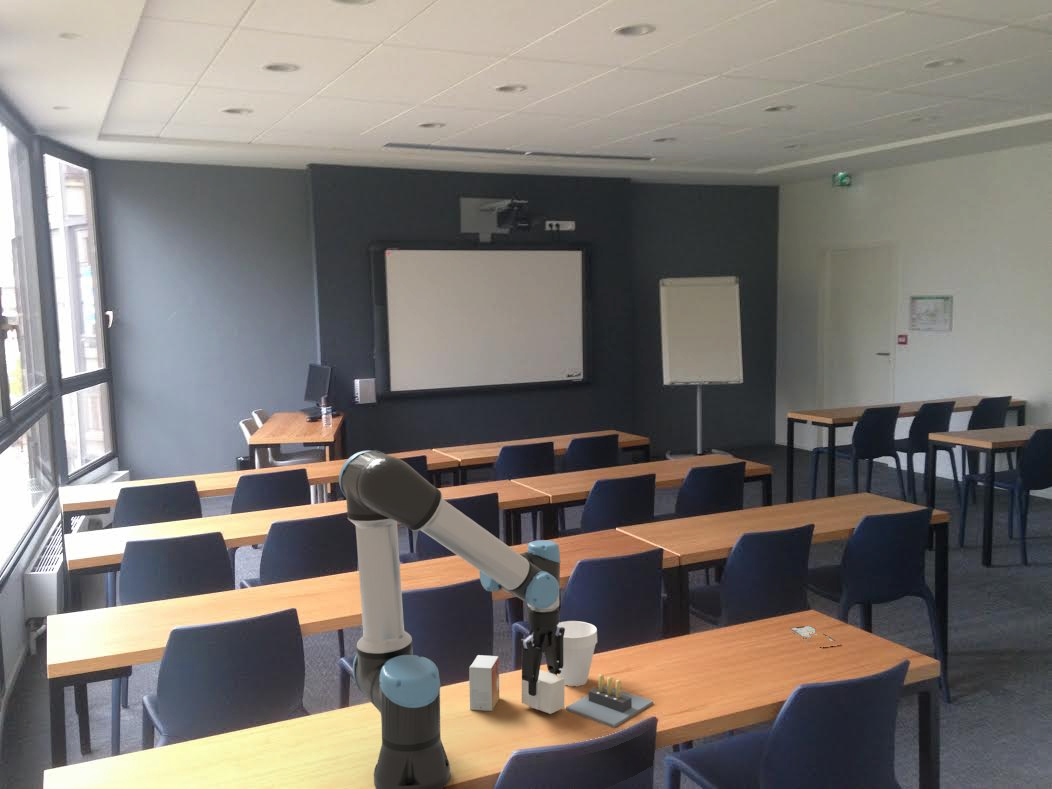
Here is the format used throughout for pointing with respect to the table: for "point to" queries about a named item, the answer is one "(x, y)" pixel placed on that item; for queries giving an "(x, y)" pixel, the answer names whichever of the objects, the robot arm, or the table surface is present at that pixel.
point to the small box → (484, 682)
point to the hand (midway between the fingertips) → (542, 703)
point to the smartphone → (806, 631)
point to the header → (609, 704)
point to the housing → (547, 692)
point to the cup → (577, 651)
